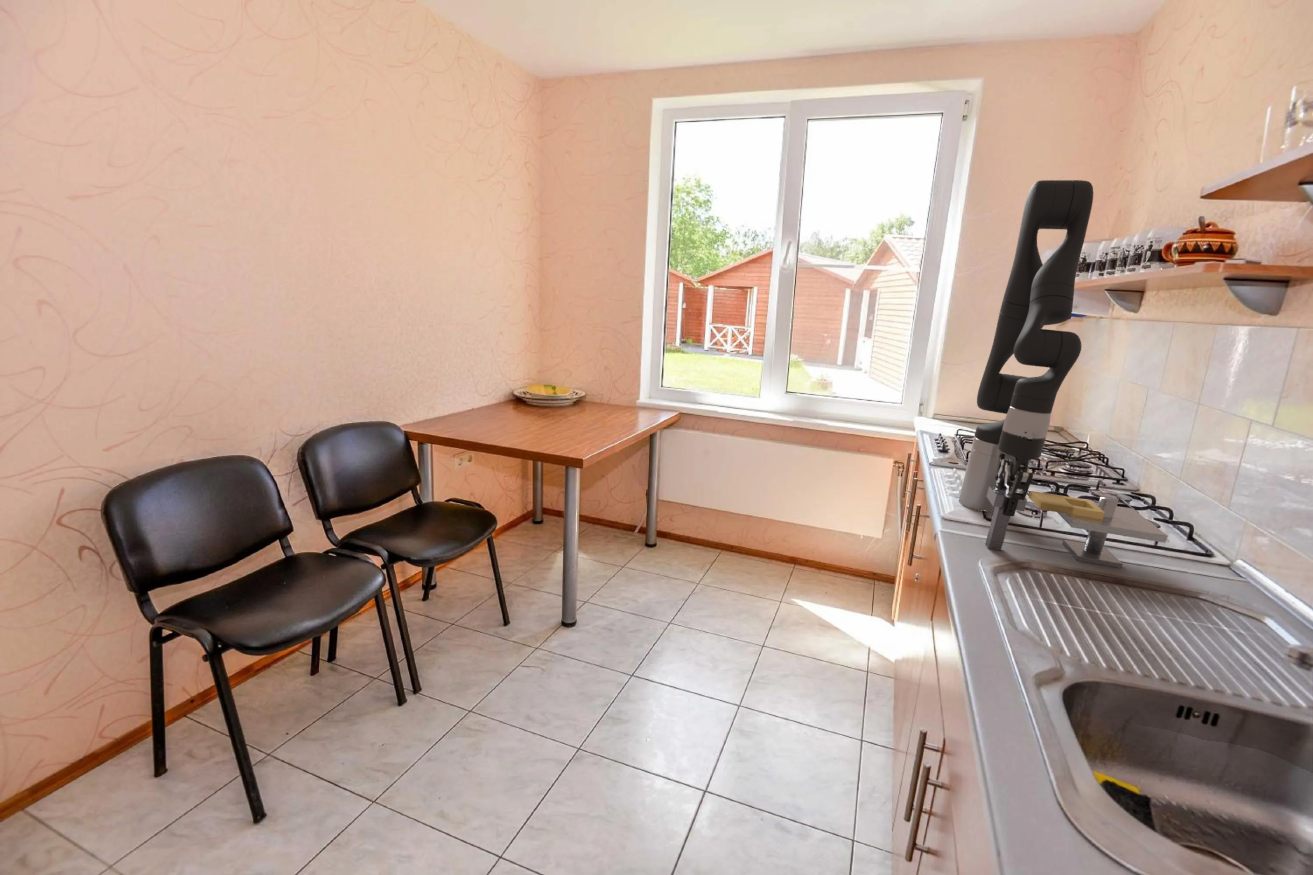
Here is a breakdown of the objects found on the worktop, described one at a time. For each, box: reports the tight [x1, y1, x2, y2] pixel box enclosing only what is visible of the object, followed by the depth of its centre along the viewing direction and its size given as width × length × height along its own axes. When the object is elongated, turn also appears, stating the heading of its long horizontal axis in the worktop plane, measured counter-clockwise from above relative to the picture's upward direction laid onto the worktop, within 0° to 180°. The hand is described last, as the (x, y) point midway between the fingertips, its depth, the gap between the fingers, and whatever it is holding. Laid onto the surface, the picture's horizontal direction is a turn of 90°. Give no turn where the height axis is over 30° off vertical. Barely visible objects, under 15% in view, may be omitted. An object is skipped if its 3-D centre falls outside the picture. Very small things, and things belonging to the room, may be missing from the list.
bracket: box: [1028, 490, 1105, 519], centre depth 122 cm, size 11×7×2 cm, turn 75°
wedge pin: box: [984, 486, 1028, 552], centre depth 121 cm, size 6×6×12 cm
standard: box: [1056, 495, 1169, 569], centre depth 121 cm, size 16×14×13 cm
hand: (1003, 509), depth 121 cm, fingers closed on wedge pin, 5 cm apart
